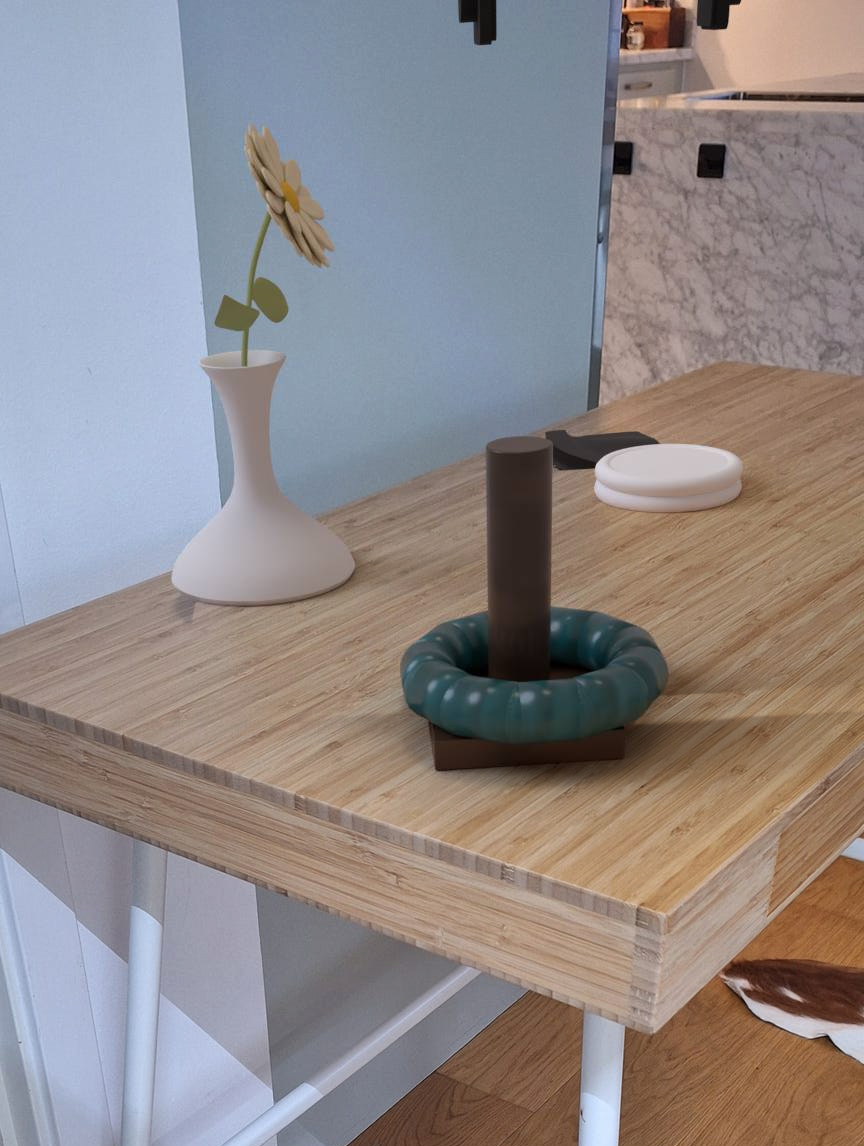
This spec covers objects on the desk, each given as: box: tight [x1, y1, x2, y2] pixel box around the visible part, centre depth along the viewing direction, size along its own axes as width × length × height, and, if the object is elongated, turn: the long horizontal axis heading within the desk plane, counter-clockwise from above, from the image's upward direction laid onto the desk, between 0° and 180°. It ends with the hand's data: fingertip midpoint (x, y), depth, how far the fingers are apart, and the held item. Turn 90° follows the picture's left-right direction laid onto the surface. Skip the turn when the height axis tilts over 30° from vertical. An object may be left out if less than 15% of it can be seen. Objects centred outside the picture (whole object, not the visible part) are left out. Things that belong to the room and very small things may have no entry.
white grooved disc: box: [593, 443, 744, 514], centre depth 101 cm, size 10×10×4 cm
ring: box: [399, 605, 670, 744], centre depth 72 cm, size 13×13×3 cm
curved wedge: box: [544, 429, 661, 472], centre depth 111 cm, size 8×14×2 cm, turn 9°
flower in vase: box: [170, 123, 356, 607], centre depth 85 cm, size 13×11×25 cm
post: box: [427, 435, 626, 771], centre depth 70 cm, size 9×9×14 cm
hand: (598, 36), depth 62 cm, fingers open, 9 cm apart
